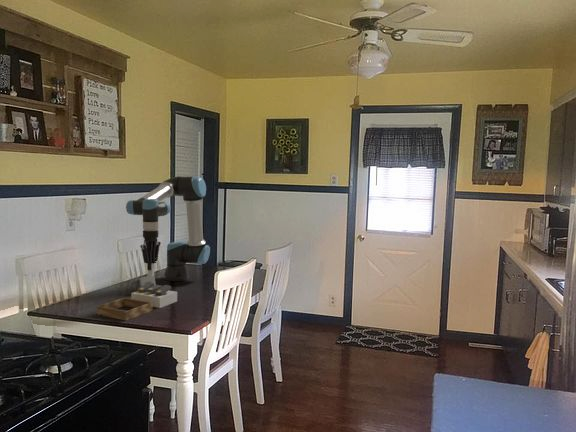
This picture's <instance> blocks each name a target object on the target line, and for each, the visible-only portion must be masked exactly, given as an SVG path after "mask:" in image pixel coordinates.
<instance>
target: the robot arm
mask: <svg viewBox="0 0 576 432" xmlns="http://www.w3.org/2000/svg"><path fill="white" fill-rule="evenodd" d="M206 194H207V185H206V182H205V180H204V179H203V178H202V177H199V176H179V175H178V176H173V177H170V178H168V179H166V180H164V181H162V182H160V183H159V185H158V186H157V187H156V188H153V190H151V191H149V192H148V193H145V195H143V196H141V197H140V198H138V199H137V200H134V199H133V200H128V201H127V202H126V203H125V204H126V206H125V209H126V212H127V213H128V215H133V216H142V238H143V244H140V249H141V253H142V257H143V262H144V264H146V265H147V276H154V277H155V264H157V262H158V258H159V254H160V253H159V251H160V247H161V244H162V243H161V242H160V241H158V238H159V230H158V229H159V218H160V217H165V216H167V215H168V214H170V212H171V209H172V208H171V204H170V203H169V202H168V201H164V200H165V199H169V198H171V197H173V196H174V197H175V196H176V197H178V196H179V197H182V198H183V201H184V202H185V203H186V204H185V205H186V206H185V207H186V217H187V231H188V232H187V233H188V241H186V240H185V241H184V240H182V241H181V240H180V241H173V242H170V243H168V244H167V245H166V269H165V271H164V275H163V280H165V281H168V282H184V281H187V280H189V278H190V276H189V275H190V274H189V272H188V268H187V264H195V265H196V264H197V265H204V264H206V263H207V262H208V260H209V257H210V254H211V247H210V245H208V244H207V241H206V240H205V239H204V233H203V232H204V231H203V217H202V216H203V215H202V203H201V202H202V201H203V200H204V197H205V196H206Z"/></svg>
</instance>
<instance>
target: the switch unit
mask: <svg viewBox="0 0 576 432" xmlns="http://www.w3.org/2000/svg"><path fill="white" fill-rule="evenodd" d="M130 294H131V295H130V299H135V300H141V301H147V302H153V308H156V309H161V308H164V307H166V306H169V305H171V304H175V303H177V302H178V291H175V290H169V291H167V292H166V293H164V294H163V295H162V296H161V295H155V292H154V293H149V292H145V293H142V292H138V290H137V291H134V292H131V293H130Z"/></svg>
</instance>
